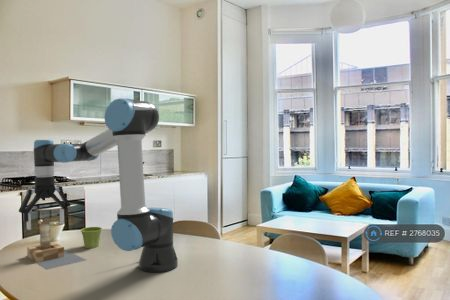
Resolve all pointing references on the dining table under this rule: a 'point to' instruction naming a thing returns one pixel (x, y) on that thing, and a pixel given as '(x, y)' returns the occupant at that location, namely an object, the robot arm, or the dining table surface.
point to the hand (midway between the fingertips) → (46, 226)
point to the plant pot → (91, 236)
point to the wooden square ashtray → (45, 252)
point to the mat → (60, 260)
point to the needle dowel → (45, 235)
